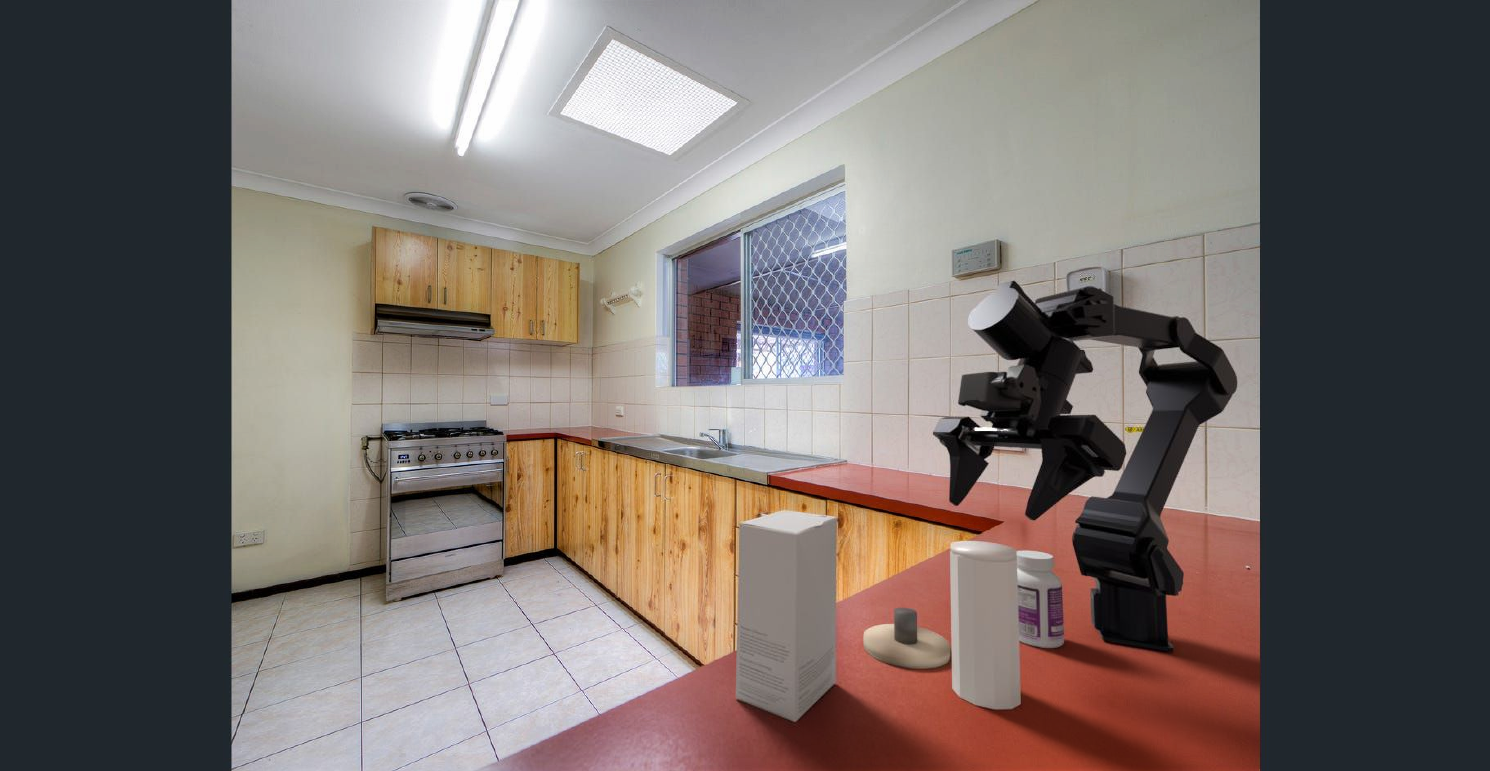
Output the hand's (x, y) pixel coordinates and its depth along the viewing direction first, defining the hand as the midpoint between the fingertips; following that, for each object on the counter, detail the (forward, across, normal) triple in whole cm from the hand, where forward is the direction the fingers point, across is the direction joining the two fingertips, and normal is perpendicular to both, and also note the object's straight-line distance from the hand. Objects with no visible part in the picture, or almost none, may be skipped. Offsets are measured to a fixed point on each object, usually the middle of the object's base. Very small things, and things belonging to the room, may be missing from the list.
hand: (988, 510), depth 52 cm
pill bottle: (+7, -4, +18) cm, 20 cm away
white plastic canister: (+15, +3, +5) cm, 16 cm away
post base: (+16, -7, +5) cm, 18 cm away
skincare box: (+24, -4, -9) cm, 26 cm away
